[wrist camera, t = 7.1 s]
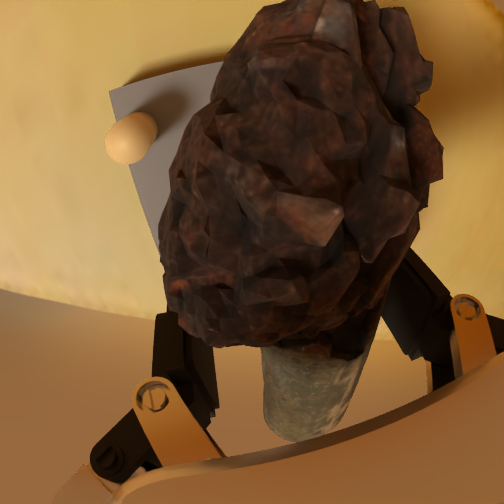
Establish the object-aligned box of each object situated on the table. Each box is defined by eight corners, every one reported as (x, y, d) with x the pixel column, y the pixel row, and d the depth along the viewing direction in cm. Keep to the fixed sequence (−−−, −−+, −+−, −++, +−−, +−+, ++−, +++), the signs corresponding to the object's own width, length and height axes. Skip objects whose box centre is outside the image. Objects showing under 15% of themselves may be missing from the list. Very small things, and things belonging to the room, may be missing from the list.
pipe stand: (345, 53, 14) (387, 52, 10) (349, 268, 23) (373, 306, 19) (119, 88, 13) (91, 95, 10) (187, 303, 22) (187, 349, 19)
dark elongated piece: (333, 367, 17) (363, 446, 12) (225, 388, 16) (237, 475, 12) (366, 21, 7) (511, 17, 2) (142, 30, 6) (54, -18, 2)
